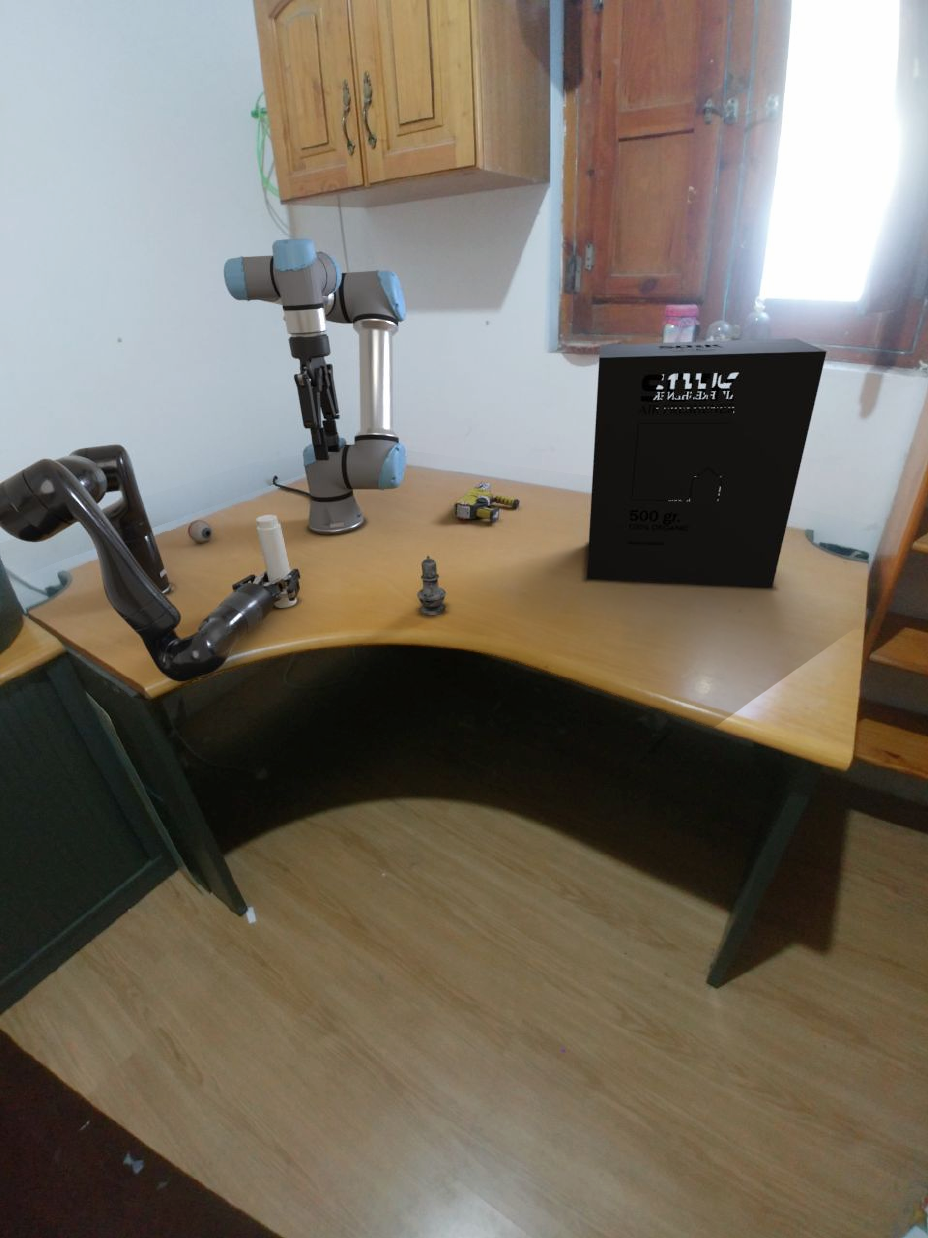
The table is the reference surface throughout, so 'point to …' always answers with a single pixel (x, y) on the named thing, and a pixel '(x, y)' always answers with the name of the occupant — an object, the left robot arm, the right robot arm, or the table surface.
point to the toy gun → (481, 504)
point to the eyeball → (200, 531)
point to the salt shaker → (431, 589)
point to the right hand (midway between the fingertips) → (328, 455)
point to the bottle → (274, 552)
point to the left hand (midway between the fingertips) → (285, 571)
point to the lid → (331, 438)
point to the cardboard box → (698, 459)
